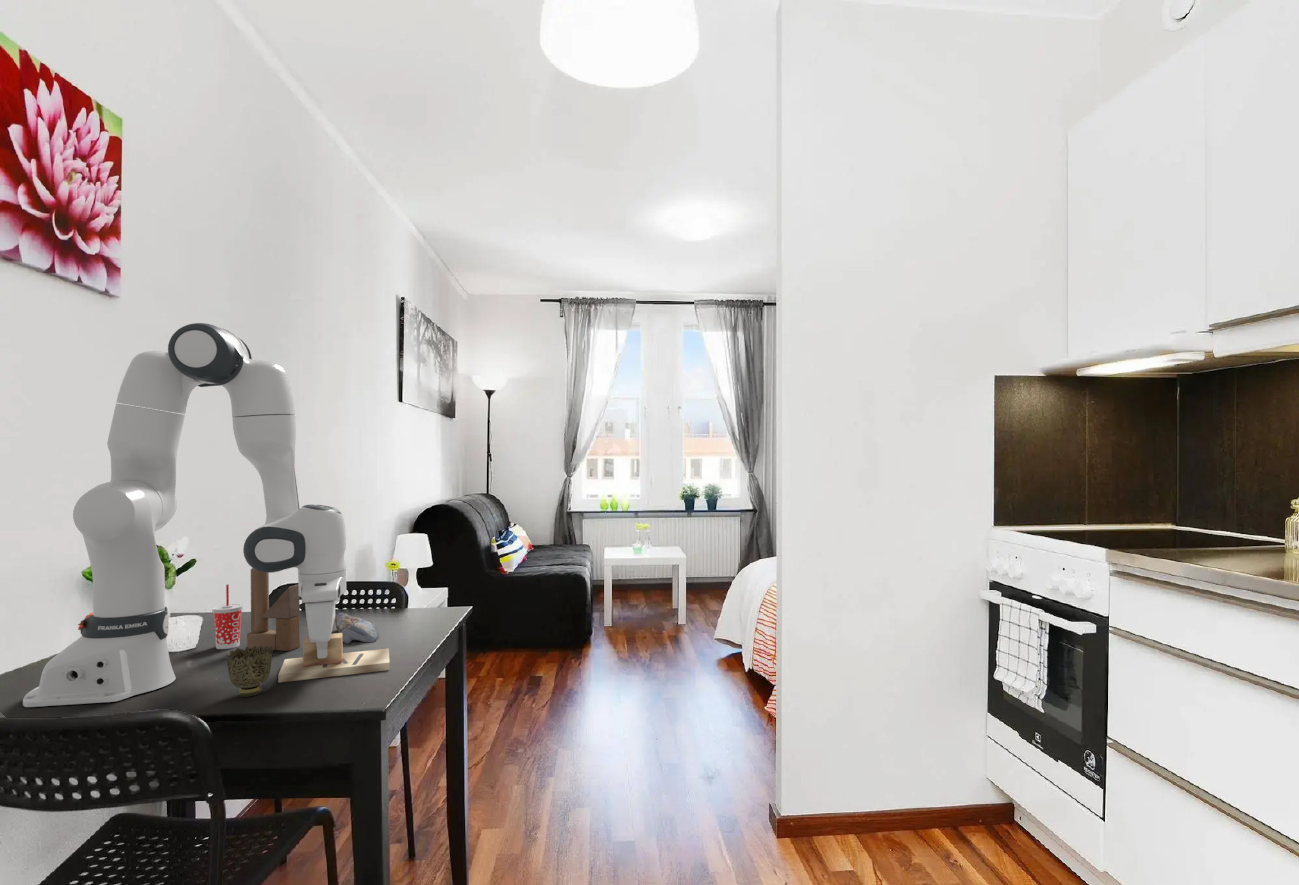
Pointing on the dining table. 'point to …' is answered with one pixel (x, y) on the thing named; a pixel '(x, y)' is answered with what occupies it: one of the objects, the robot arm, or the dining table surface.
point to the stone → (355, 629)
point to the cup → (249, 669)
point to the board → (336, 666)
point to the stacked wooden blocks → (273, 616)
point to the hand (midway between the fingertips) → (323, 653)
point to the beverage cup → (227, 624)
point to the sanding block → (332, 657)
